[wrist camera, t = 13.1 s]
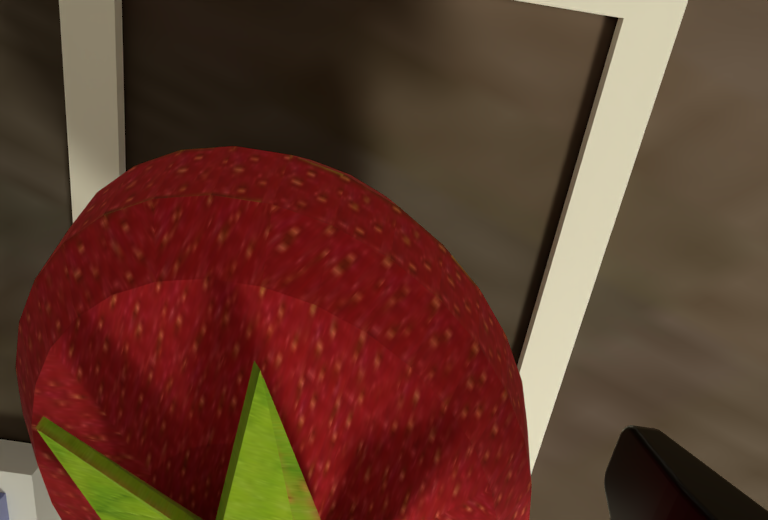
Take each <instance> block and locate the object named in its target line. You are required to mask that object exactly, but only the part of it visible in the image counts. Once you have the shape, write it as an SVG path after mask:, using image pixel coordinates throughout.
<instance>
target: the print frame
mask: <svg viewBox="0 0 768 520" xmlns="http://www.w3.org/2000/svg"><path fill="white" fill-rule="evenodd" d="M516 1H522V2H528V3H534V4H540V5H545V6H551V7H557V8H563V9H569V10H575V11H581V12H587V13H593V14H599V15H605V16H610V17H616V18H618V21H617V24H616V27H615V31H614V34H613V38H612V41H611V45H610V48H609V51H608V55H607V58H606V62H605V65H604V69H603V72H602V76H601V79H600V82H599V86H598V89H597V93H596V96H595V100H594V103H593V107H592V110H591V113H590V117H589V120H588V124H587V127H586V131H585V134H584V137H583V141H582V144H581V148H580V151H579V155H578V158H577V162H576V165H575V168H574V172H573V175H572V179H571V182H570V186H569V189H568V193H567V196H566V199H565V203H564V206H563V210H562V213H561V217H560V220H559V223H558V227H557V230H556V234H555V237H554V241H553V244H552V248H551V251H550V254H549V258H548V261H547V265H546V268H545V272H544V275H543V278H542V282H541V285H540V289H539V292H538V296H537V299H536V303H535V306H534V309H533V313H532V316H531V320H530V323H529V327H528V330H527V334H526V337H525V340H524V344H523V347H522V351H521V354H520V358H519V361H518V364H517V368H518V371H519V374H520V377H521V380H522V384H523V393H524V401H525V409H526V418H527V427H528V442H529V457H530V471H531V473H532V470H533V467H534V464H535V461H536V458H537V455H538V452H539V449H540V446H541V443H542V440H543V437H544V434H545V431H546V428H547V425H548V422H549V419H550V416H551V413H552V410H553V407H554V404H555V401H556V398H557V395H558V391H559V388H560V385H561V382H562V379H563V376H564V373H565V370H566V367H567V364H568V361H569V358H570V355H571V352H572V349H573V346H574V343H575V340H576V337H577V334H578V331H579V328H580V325H581V322H582V319H583V316H584V313H585V310H586V307H587V304H588V301H589V298H590V295H591V292H592V289H593V286H594V283H595V280H596V277H597V274H598V271H599V268H600V265H601V262H602V259H603V256H604V253H605V250H606V247H607V244H608V241H609V238H610V235H611V232H612V229H613V225H614V222H615V219H616V216H617V213H618V210H619V207H620V204H621V201H622V198H623V195H624V192H625V189H626V186H627V183H628V180H629V177H630V174H631V171H632V168H633V165H634V162H635V159H636V156H637V153H638V150H639V147H640V144H641V141H642V138H643V135H644V132H645V129H646V126H647V123H648V120H649V117H650V114H651V111H652V108H653V105H654V102H655V99H656V96H657V93H658V90H659V87H660V84H661V81H662V78H663V75H664V72H665V69H666V66H667V63H668V59H669V56H670V53H671V50H672V47H673V44H674V41H675V38H676V35H677V32H678V29H679V26H680V23H681V20H682V17H683V14H684V11H685V8H686V5H687V2H688V0H516ZM59 11H60V26H61V42H62V58H63V74H64V90H65V106H66V122H67V137H68V153H69V169H70V185H71V201H72V217H73V223H74V222H75V220H76V219H77V218H78V216H79V215H80V214H81V212H82V211H83V210H84V208H85V207H86V206H87V205H88V203H89V202H90V201H91V199H92V198H93V197H94V195H95V194H96V193H97V192H98V191H99V190H101V189H102V188H104V187H105V186H107V185H108V184H109V183H111V182H112V181H114V180H115V179H116V178H118V177H119V176H121V175H122V174H123V173H125V172H126V158H125V115H124V73H123V31H122V0H59Z"/></svg>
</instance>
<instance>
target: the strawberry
mask: <svg viewBox="0 0 768 520" xmlns="http://www.w3.org/2000/svg"><path fill="white" fill-rule="evenodd" d="M16 374H17V380H18V386H19V393H20V399H21V405H22V411H23V416H24V420H25V423H26V427H27V430H28V434H29V437H30V440H31V444H32V447H33V451H34V454H35V458H36V461H37V465H38V467H39V470H40V473H41V475H42V478H43V481H44V484H45V486H46V489H47V492H48V494H49V497H50V500H51V502H52V505H53V506H54V508H55V510H56V511H57V513H58V515H59V516H60V518H61V520H529V515H530V500H531V471H530V457H529V442H528V427H527V418H526V409H525V401H524V393H523V384H522V380H521V377H520V374H519V371H518V368H517V365H516V363H515V360H514V357H513V354H512V351H511V348H510V345H509V343H508V340H507V337H506V335H505V333H504V331H503V329H502V328H501V326H500V324H499V322H498V321H497V319H496V317H495V315H494V314H493V312H492V310H491V308H490V306H489V305H488V303H487V301H486V299H485V298H484V296H483V294H482V292H481V291H480V289H479V288H478V287H477V285H476V284H475V283H474V282H473V281H472V279H471V278H470V277H469V276H468V274H467V273H466V272H465V271H464V270H463V268H462V267H461V266H460V265H459V264H458V262H457V261H456V260H455V259H454V257H453V256H452V255H451V254H450V253H449V251H448V250H447V249H446V248H445V247H444V245H443V244H441V243H440V242H439V241H438V240H437V239H436V238H434V237H433V236H432V235H431V234H430V233H429V232H427V231H426V230H425V229H424V228H423V227H422V226H420V225H419V224H418V223H417V222H416V221H415V220H414V219H412V218H411V217H410V216H409V215H408V214H407V213H405V212H404V211H403V210H402V209H401V208H400V207H398V206H397V205H396V204H395V203H393V202H392V201H391V200H390V199H389V198H387V197H386V196H384V195H383V194H381V193H379V192H378V191H376V190H375V189H373V188H371V187H370V186H368V185H366V184H365V183H363V182H361V181H360V180H358V179H357V178H355V177H353V176H352V175H350V174H347V173H344V172H342V171H339V170H337V169H334V168H331V167H329V166H326V165H324V164H321V163H318V162H316V161H313V160H310V159H306V158H302V157H298V156H293V155H289V154H282V153H276V152H269V151H263V150H257V149H250V148H244V147H238V146H228V147H214V148H199V149H185V150H179V151H176V152H173V153H170V154H167V155H164V156H162V157H159V158H156V159H153V160H150V161H147V162H144V163H141V164H138V165H135V166H133V167H132V168H131V169H129V170H128V171H126V172H125V173H123V174H122V175H121V176H119V177H118V178H116V179H115V180H114V181H112V182H111V183H109V184H108V185H107V186H105V187H104V188H102V189H101V190H99V191H98V192H97V193H96V194H95V195H94V197H93V198H92V199H91V201H90V202H89V203H88V205H87V206H86V207H85V208H84V210H83V211H82V212H81V214H80V215H79V216H78V218H77V219H76V220H75V222H74V223H73V224H72V226H71V227H70V228H69V230H68V231H67V233H66V234H65V236H64V237H63V239H62V240H61V242H60V243H59V245H58V246H57V247H56V249H55V250H54V252H53V253H52V255H51V256H50V258H49V259H48V261H47V262H46V264H45V265H44V267H43V268H42V270H41V271H40V273H39V274H38V276H37V277H36V279H35V280H34V283H33V286H32V289H31V291H30V294H29V297H28V299H27V302H26V305H25V308H24V310H23V313H22V316H21V318H20V321H19V330H18V343H17V356H16Z"/></svg>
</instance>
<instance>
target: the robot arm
mask: <svg viewBox="0 0 768 520" xmlns="http://www.w3.org/2000/svg"><path fill="white" fill-rule="evenodd" d="M604 485H605V493H606V498H607V503H608V509H609V514H610V519H611V520H768V511H767V510H765V509H764V508H763V507H761V506H760V505H759V504H757V503H756V502H755V501H753V500H752V499H751V498H749V497H748V496H747V495H745V494H744V493H743V492H741V491H740V490H739V489H737V488H736V487H735V486H733V485H732V484H731V483H729V482H728V481H727V480H725V479H724V478H723V477H721V476H720V475H719V474H717V473H716V472H715V471H713V470H712V469H711V468H709V467H708V466H707V465H705V464H704V463H703V462H701V461H700V460H699V459H697V458H696V457H695V456H693V455H692V454H691V453H689V452H688V451H687V450H685V449H684V448H683V447H681V446H680V445H679V444H677V443H676V442H675V441H673V440H672V439H671V438H669V437H668V436H667V435H665V434H664V433H663V432H661V431H660V430H657V429H654V428H647V427H640V426H633V425H630V426H627V427H625V428H624V430H623V431H622V432H621V434H620V437H619V439H618V442H617V444H616V447H615V449H614V452H613V454H612V457H611V459H610V462H609V464H608V467H607V469H606V473H605V480H604Z"/></svg>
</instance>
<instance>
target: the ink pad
mask: <svg viewBox="0 0 768 520" xmlns="http://www.w3.org/2000/svg"><path fill="white" fill-rule="evenodd" d="M0 520H61V518H60V516H59V515H58V513H57V511H56V510H55V508H54V506H53V505H52V502H51V500H50V497H49V494H48V492H47V489H46V486H45V484H44V481H43V478H42V475H41V473H40V470H39V467H38V465H37V461H36V458H35V454H34V451H33V447H32V444H31V443H24V442H17V441H10V440H3V439H0Z"/></svg>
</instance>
